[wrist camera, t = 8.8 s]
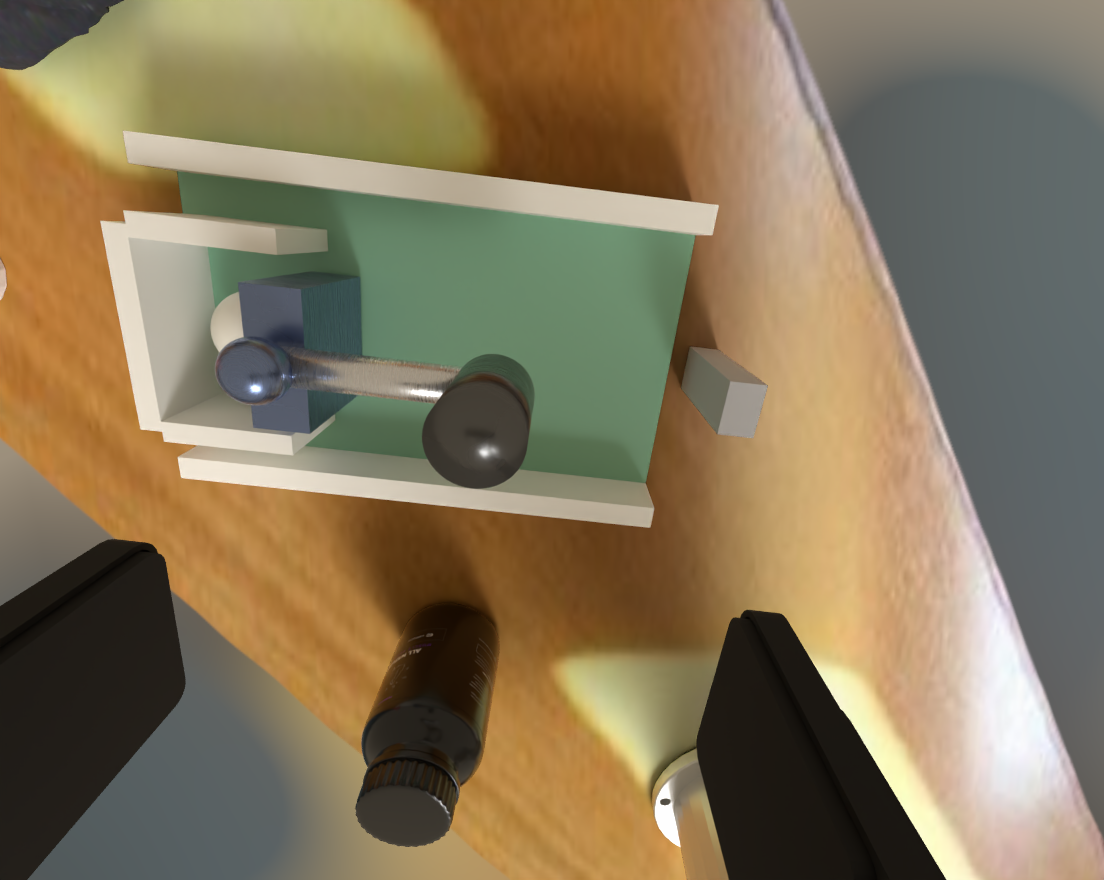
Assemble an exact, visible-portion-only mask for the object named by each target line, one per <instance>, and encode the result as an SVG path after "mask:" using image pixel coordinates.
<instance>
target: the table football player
mask: <svg viewBox="0 0 1104 880" xmlns="http://www.w3.org/2000/svg"><path fill="white" fill-rule="evenodd" d="M238 289H239V299H240V308H241V317H242V327H243V336H244V337H242V338H238V339H235V340H233V341H231V342H230V343H228V344H227V345H226V346H225V347H223V349H222V350H221V351H220V353H219V354H218V356H217V359H216V362H215V375H216V379H217V382H218V384H219V385H220V387H221V388H222V390H223V391H224V392H225V393H226V394H227V395H228V396H230V397H231V398H233V399H234V400H236V401H238V402H240V403H243V404H247V405H251V411H252V420H253V428H260V429H269V430H278V431H287V432H296V433H306V434H311V433H312V432H313V431H314V430H316V429H317V428H318V427H319V426H321V425H322V424H323V423H324V422H326V421H327V420H328V419H329V418H331V417H332V416H333V415H334V414H336V413H337V412H338V411H339V410H341V409H342V408H343V407H344V406H346V405H347V404H348V403H349V402H351V401H352V400H353V399H354V398H356V397H357V396H358V395H360V396H369V397H378V398H387V399H396V400H405V401H414V402H423V403H431V404H435V405H434V406H433V408H432V409H431V410H430V412H429V414H428V415H427V417H426V419H425V422H424V425H423V429H422V444H423V449H424V452H425V455H426V457H427V459H428V461H429V463H430V464H431V466H432V467H433V468H434V469H435V470H436V472H438V473H439V474H440V475H441V476H442V477H444V478H445V479H446V480H448V481H450V482H452V483H454V484H456V485H458V486H462V487H465V488H471V489H484V488H490V487H494V486H497V485H499V484H501V483H503V482H505V481H507V480H508V479H510V478H511V477H512V476H513V475H514V474H515V473H516V472H517V471H518V469H519V468H520V467H521V465H522V463H523V461H524V459H525V456H526V452H527V446H528V439H529V433H530V426H531V419H532V413H533V406H534V400H535V391H534V385H533V382H532V379H531V377H530V375H529V374H528V372H527V371H526V370H525V368H524V367H523V366H522V365H520V364H519V363H518V362H517V361H515V360H513V359H511V358H509V357H507V356H504V355H499V354H485V355H481V356H478V357H475V358H473V359H472V360H470V361H469V362H467V363H466V364H465V365H464V366H463V367H461V366H452V365H443V364H435V363H426V362H417V361H408V360H400V359H391V358H382V357H373V356H365V355H362V331H361V286H360V277H358V276H349V275H341V274H332V273H324V272H316V271H309V272H302V273H295V274H289V275H282V276H275V277H268V278H262V279H255V280H248V281H242V282H238Z"/></svg>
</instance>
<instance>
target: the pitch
mask: <svg viewBox="0 0 1104 880" xmlns="http://www.w3.org/2000/svg"><path fill="white" fill-rule="evenodd" d="M123 136H124V142H125V148H126V154H127V159H128V163H131V164H137V165H143V166H149V167H155V168H161V169H167V170H173V171H177V174H178V182H179V189H180V196H181V203H182V211H183V214H180V213H162V212H144V211H126V210H123V212H124V217H125V222H123V221H100V222H101V227H102V232H103V237H104V242H105V248H106V253H107V258H108V263H109V268H110V273H111V279H112V284H113V289H114V294H115V299H116V304H117V310H118V315H119V320H120V325H121V330H122V336H123V341H124V346H125V351H126V356H127V361H128V367H129V372H130V377H131V382H132V387H133V392H134V398H135V403H136V408H137V413H138V418H139V424H140V429H142V430H152V431H161V432H163V438H164V442H173V443H182V444H191V445H198V446H196V447H194V448H192V449H191V450H189V451H187V452H186V453H184V454H182V455H180V456H179V457H178V462H179V468H180V474H181V478H187V479H197V480H206V481H215V482H225V483H234V484H244V485H253V486H262V487H272V488H281V489H291V490H300V491H309V492H319V493H328V494H338V495H347V496H356V497H366V498H375V499H385V500H394V501H403V502H413V503H422V504H431V505H441V506H450V507H460V508H469V509H478V510H488V511H497V512H507V513H516V514H525V515H535V516H544V517H554V518H563V519H572V520H582V521H591V522H601V523H610V524H619V525H629V526H638V527H648V528H650V527H651V522H652V517H653V512H654V506H653V503H652V500H651V497H650V494H649V491H648V489H647V486H646V479H647V474H648V469H649V464H650V459H651V454H652V449H653V444H654V439H655V434H656V429H657V424H658V419H659V414H660V409H661V405H662V400H663V395H664V390H665V385H666V380H667V375H668V370H669V365H670V360H671V355H672V350H673V345H674V340H675V335H676V330H677V325H678V320H679V315H680V310H681V305H682V300H683V295H684V290H685V285H686V280H687V276H688V271H689V266H690V261H691V256H692V251H693V246H694V241H695V236H696V235H713V230H714V226H715V221H716V216H717V212H718V207H719V205H713V204H705V203H697V202H689V201H681V200H673V199H665V198H657V197H649V196H641V195H633V194H625V193H617V192H609V191H601V190H593V189H585V188H577V187H569V186H561V185H553V184H546V183H538V182H530V181H522V180H514V179H506V178H498V177H490V176H482V175H474V174H466V173H458V172H450V171H442V170H434V169H426V168H418V167H410V166H402V165H394V164H386V163H378V162H370V161H362V160H354V159H346V158H338V157H330V156H322V155H314V154H306V153H298V152H290V151H282V150H274V149H266V148H258V147H250V146H242V145H234V144H226V143H218V142H210V141H202V140H194V139H186V138H179V137H171V136H163V135H155V134H147V133H139V132H131V131H123ZM309 271H316V272H324V273H332V274H341V275H349V276H358V277H360V286H361V331H362V355H365V356H373V357H382V358H391V359H400V360H408V361H417V362H426V363H435V364H443V365H452V366H461V367H463V366H464V365H465V364H466V363H467V362H469V361H470V360H472V359H473V358H475V357H478V356H481V355H485V354H499V355H504V356H507V357H509V358H511V359H513V360H515V361H517V362H518V363H519V364H520V365H522V366H523V367H524V368H525V370H526V371H527V372H528V374H529V375H530V377H531V379H532V382H533V385H534V391H535V400H534V406H533V413H532V419H531V426H530V433H529V439H528V446H527V452H526V456H525V459H524V461H523V463H522V465H521V467H520V468H519V469H518V471H517V472H516V473H515V474H514V475H513V476H512V477H511V478H510V479H508V480H507V481H505V482H503V483H501V484H499V485H497V486H494V487H490V488H484V489H471V488H465V487H462V486H458V485H456V484H454V483H452V482H450V481H448V480H446V479H445V478H444V477H442V476H441V475H440V474H439V473H438V472H436V470H435V469H434V468H433V467H432V466H431V464H430V463H429V461H428V459H427V457H426V455H425V452H424V449H423V444H422V429H423V425H424V422H425V419H426V417H427V415H428V414H429V412H430V410H431V409H432V408H433V406H434V405H435V404H431V403H423V402H414V401H405V400H396V399H387V398H378V397H369V396H360V395H358V396H357V397H356V398H354V399H353V400H352V401H351V402H349V403H348V404H347V405H346V406H344V407H343V408H342V409H341V410H339V411H338V412H337V413H336V414H334V415H333V416H332V417H331V418H329V419H328V420H327V421H326V422H324V423H323V424H322V425H321V426H319V427H318V428H317V429H316V430H314V431H313V432H312V433H311V434H306V433H296V432H287V431H278V430H269V429H260V428H253V420H252V411H251V405H247V404H243V403H240V402H238V401H236V400H234V399H233V398H231V397H230V396H228V395H227V394H226V393H225V392H224V391H223V390H222V388H221V387H220V385H219V384H218V382H217V379H216V375H215V362H216V359H217V356H218V354H219V353H220V352H219V351H218V350H217V348H216V346H215V345H214V342H213V339H212V336H211V329H210V324H211V319H212V315H213V313H214V311H215V309H216V307H217V306H218V305H219V304H220V303H221V301H222V300H224V299H225V298H226V297H228V296H230V295H231V294H234V293H236V292H239V289H238V282H242V281H248V280H255V279H262V278H268V277H275V276H282V275H289V274H295V273H302V272H309ZM767 387H768V385H766V384H765V383H764V382H762V381H761V380H759V379H758V378H757V377H755V376H754V375H753V374H751V373H750V372H748V371H747V370H746V369H744V368H743V367H742V366H740V365H739V364H737V363H736V362H735V361H733V360H732V359H731V358H729V357H728V356H726V355H725V354H724V353H722V352H721V351H720V350H717V349H708V348H700V347H691V346H690V348H689V353H688V358H687V362H686V367H685V372H684V376H683V381H682V386H681V389H682V390H683V391H684V393H685V394H686V395H687V396H688V398H689V399H690V400H691V401H692V403H693V404H694V405H695V407H696V408H697V409H698V410H699V412H700V413H701V414H702V415H703V417H704V418H705V419H706V420H707V422H708V423H709V424H710V426H711V427H712V428H713V429H714V431H715V432H716V433H717V434H720V435H729V436H737V437H746V438H754V434H755V430H756V427H757V423H758V419H759V416H760V412H761V409H762V405H763V401H764V398H765V394H766V391H767Z"/></svg>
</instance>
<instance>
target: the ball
mask: <svg viewBox="0 0 1104 880" xmlns="http://www.w3.org/2000/svg"><path fill="white" fill-rule="evenodd" d="M210 329H211V336H212V339H213V342H214V345H215V346H216V348H217V350H218V351H219V352H220V351H221V350H222V349H223V347H225V346H226V345H227V344H228V343H230V342H231V341H233V340H235V339H238V338H242V337H244V336H243V327H242V317H241V308H240V299H239V292H236V293H234V294H231V295H230V296H228V297H226V298H225V299H224V300H222V301H221V303H220V304H219V305H218V306H217V307H216V309H215V311H214V313H213V315H212V319H211V324H210Z"/></svg>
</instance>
